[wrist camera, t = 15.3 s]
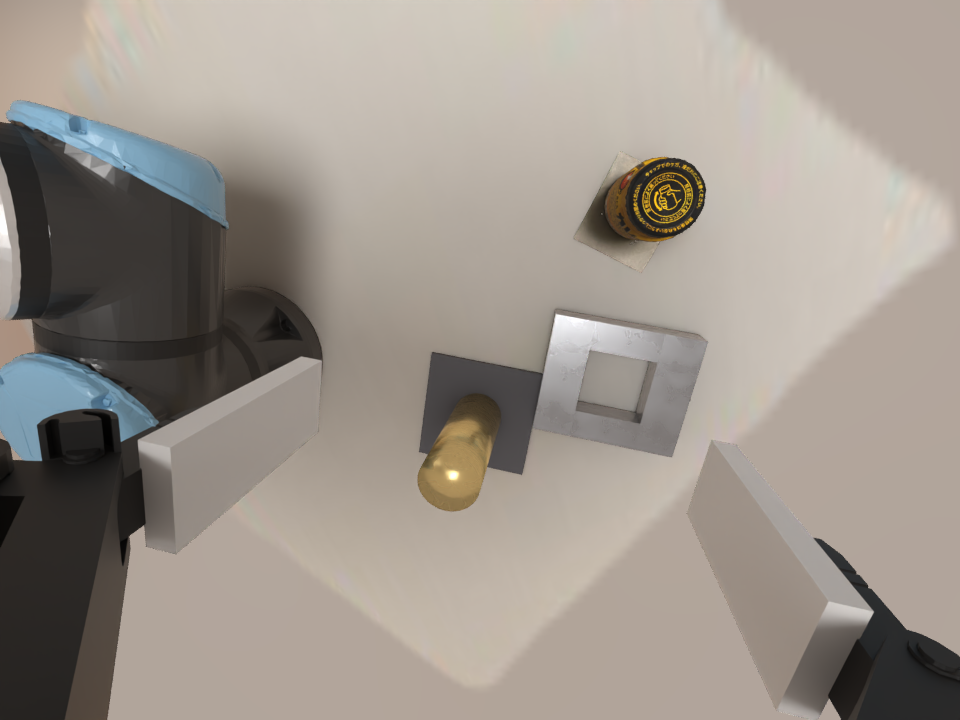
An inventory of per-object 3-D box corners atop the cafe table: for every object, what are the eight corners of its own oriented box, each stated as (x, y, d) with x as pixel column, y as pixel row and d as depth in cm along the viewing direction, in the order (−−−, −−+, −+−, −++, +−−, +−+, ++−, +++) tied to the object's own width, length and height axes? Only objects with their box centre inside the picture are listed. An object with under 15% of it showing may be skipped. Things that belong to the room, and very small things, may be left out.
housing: (533, 416, 50) (532, 428, 47) (556, 308, 47) (555, 314, 44) (665, 443, 49) (672, 457, 46) (698, 334, 45) (708, 341, 42)
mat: (420, 450, 54) (419, 452, 53) (432, 352, 50) (431, 353, 50) (522, 472, 52) (522, 474, 52) (542, 373, 49) (542, 374, 48)
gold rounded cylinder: (451, 431, 52) (414, 503, 39) (457, 389, 50) (421, 448, 37) (497, 441, 51) (475, 517, 38) (504, 398, 50) (484, 462, 36)
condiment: (691, 187, 42) (742, 173, 30) (641, 272, 44) (670, 288, 33) (619, 151, 42) (642, 123, 30) (573, 238, 45) (579, 242, 33)
